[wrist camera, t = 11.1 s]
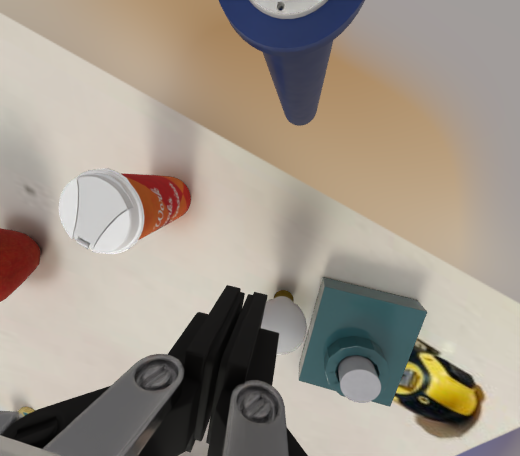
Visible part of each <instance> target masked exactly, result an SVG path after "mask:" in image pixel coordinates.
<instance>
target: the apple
mask: <svg viewBox="0 0 520 456" xmlns="http://www.w3.org/2000/svg"><path fill="white" fill-rule="evenodd" d="M39 261H40V248H39V246H38V245H37V243H36V242H35V241H34V240H33V239H31V238H30V237H29V236H27V235H26V234H24V233H21V232H17V231H12V230H6V229H0V302H1V301H3V300H4V299H6V298H7V297H8V296H9V295H10V294H11V293H12V292H13V291H14V290H16V289H17V288H18V287H19V286H20V285H21V284H22V283H23V282H24V281H25V280H26V279H27V278H28V276H29V275H30V274H31V273H32V272H33V271H34V270H35V269H36V267H37V266H38V265H39Z"/></svg>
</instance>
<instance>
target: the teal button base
mask: <svg viewBox="0 0 520 456" xmlns="http://www.w3.org/2000/svg"><path fill="white" fill-rule="evenodd" d="M426 314H427V311H426V310H425V309H424V308H423V306H422V305H421V304H420V303H419V302H418V301H417V300H415V299H411V298H407V297H403V296H399V295H395V294H391V293H387V292H382V291H378V290H374V289H370V288H366V287H362V286H358V285H354V284H349V283H345V282H341V281H337V280H333V279H329V278H325V277H323V279H322V283H321V286H320V290H319V294H318V297H317V301H316V305H315V308H314V312H313V316H312V319H311V323H310V327H309V330H308V334H307V338H306V341H305V345H304V349H303V352H302V356H301V359H300V363H299V381H302V382H306V383H309V384H313V385H316V386H320V387H323V388H327V389H330V390H334V391H337V392H338V393H339V394H340V395H341V396H345V395H344V394H343V392H342V391H341V388H340V382H339V376H338V366H339V364H340V362H341V361H342V360H343V359H345V358H347V357H349V356H354V355H357V356H362V357H365V358H367V359H369V360H370V361H371V362H372V363H373V364H374V366H375V369H376V372H377V374H378V377H379V380H380V383H381V391H380V393H379V395H378V396H377V397H376V398H375V399H374V400H372V402H376V403H379V404H383V405H386V406H391V403H392V401H393V398H394V396H395V393H396V390H397V388H398V385H399V383H400V380H401V378H402V375H403V373H404V370H405V367H406V365H407V362H408V360H409V357H410V355H411V352H412V350H413V347H414V345H415V342H416V339H417V337H418V334H419V332H420V329H421V327H422V324H423V322H424V319H425V316H426ZM345 397H346V396H345Z"/></svg>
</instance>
